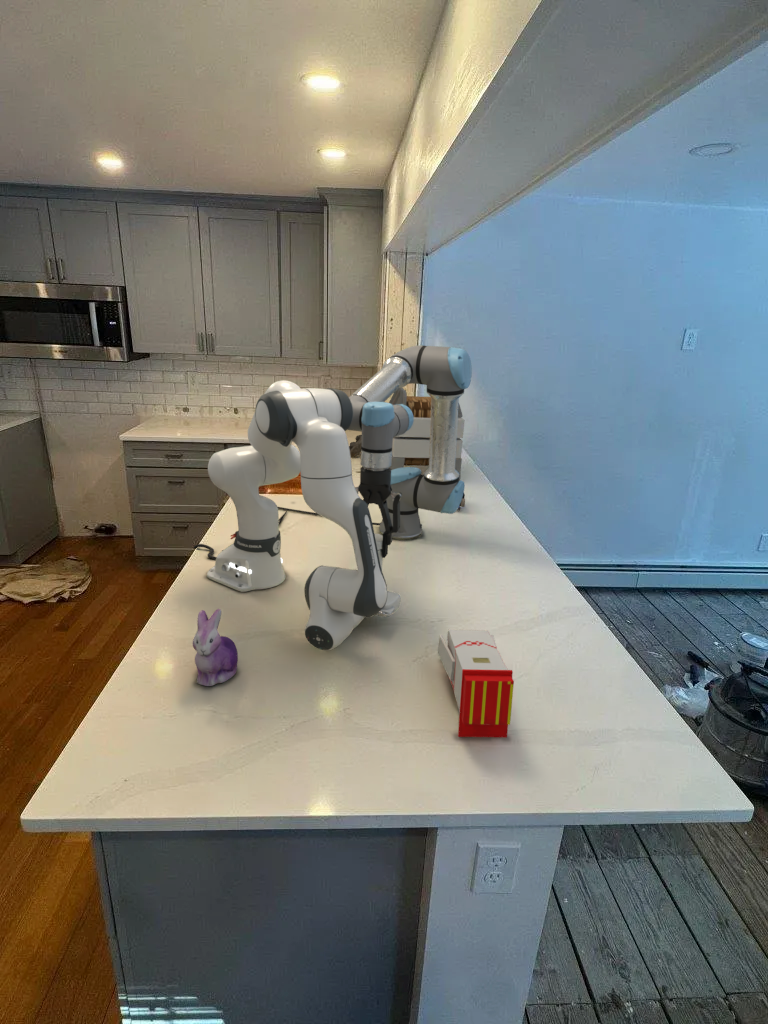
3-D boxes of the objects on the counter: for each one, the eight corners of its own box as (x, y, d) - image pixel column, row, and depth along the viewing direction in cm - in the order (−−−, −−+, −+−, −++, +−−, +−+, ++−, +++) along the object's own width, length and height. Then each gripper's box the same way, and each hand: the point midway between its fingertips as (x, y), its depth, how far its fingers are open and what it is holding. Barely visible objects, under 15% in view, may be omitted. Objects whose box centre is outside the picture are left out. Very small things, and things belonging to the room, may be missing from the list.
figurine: (199, 693, 114) (193, 629, 109) (190, 666, 122) (184, 604, 117) (245, 682, 118) (242, 619, 113) (233, 656, 127) (230, 596, 122)
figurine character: (465, 515, 224) (460, 499, 237) (467, 498, 221) (462, 483, 234) (448, 515, 224) (444, 499, 237) (450, 498, 220) (445, 482, 234)
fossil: (346, 440, 316) (367, 425, 311) (357, 453, 319) (378, 438, 314) (340, 453, 296) (362, 438, 291) (351, 468, 299) (374, 452, 294)
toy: (488, 613, 130) (523, 677, 101) (484, 667, 133) (517, 744, 104) (435, 612, 130) (455, 676, 101) (432, 666, 133) (451, 743, 103)
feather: (294, 505, 227) (296, 501, 226) (277, 528, 200) (280, 524, 199) (290, 503, 226) (292, 499, 226) (273, 526, 200) (276, 521, 199)
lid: (389, 547, 144) (389, 539, 144) (369, 552, 141) (369, 544, 140) (376, 539, 149) (376, 531, 148) (356, 543, 146) (357, 535, 145)
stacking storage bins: (382, 463, 289) (386, 382, 275) (445, 464, 293) (451, 384, 279) (390, 482, 257) (394, 392, 243) (460, 483, 261) (468, 394, 247)
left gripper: (389, 605, 133) (410, 581, 145) (313, 586, 140) (338, 565, 152) (388, 628, 135) (408, 602, 147) (313, 608, 142) (338, 586, 154)
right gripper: (417, 467, 139) (411, 553, 147) (344, 459, 144) (343, 543, 152) (409, 475, 132) (404, 565, 140) (334, 466, 137) (333, 553, 145)
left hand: (372, 583), depth 150 cm, fingers closed on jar, 5 cm apart
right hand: (372, 553), depth 146 cm, fingers closed on lid, 6 cm apart
